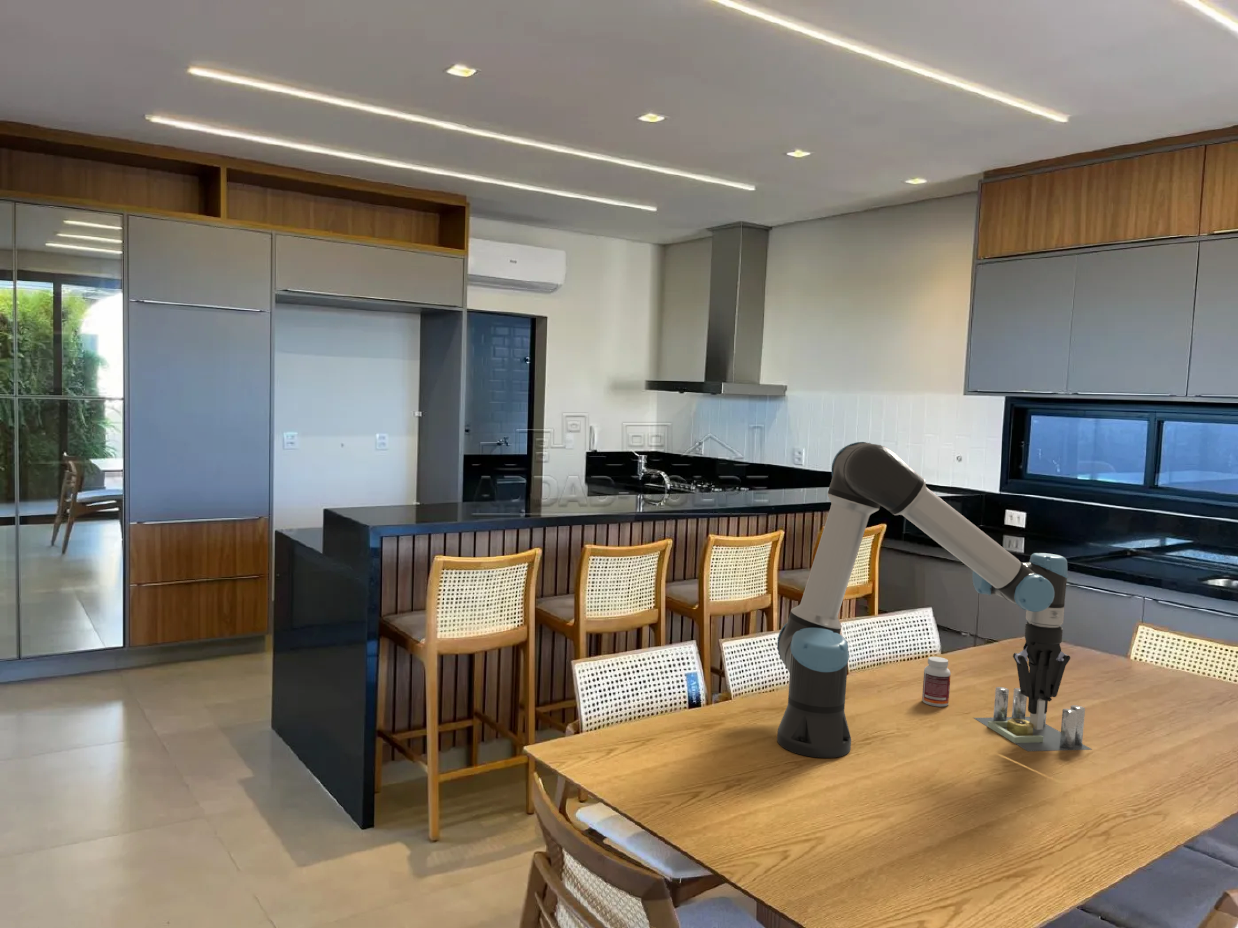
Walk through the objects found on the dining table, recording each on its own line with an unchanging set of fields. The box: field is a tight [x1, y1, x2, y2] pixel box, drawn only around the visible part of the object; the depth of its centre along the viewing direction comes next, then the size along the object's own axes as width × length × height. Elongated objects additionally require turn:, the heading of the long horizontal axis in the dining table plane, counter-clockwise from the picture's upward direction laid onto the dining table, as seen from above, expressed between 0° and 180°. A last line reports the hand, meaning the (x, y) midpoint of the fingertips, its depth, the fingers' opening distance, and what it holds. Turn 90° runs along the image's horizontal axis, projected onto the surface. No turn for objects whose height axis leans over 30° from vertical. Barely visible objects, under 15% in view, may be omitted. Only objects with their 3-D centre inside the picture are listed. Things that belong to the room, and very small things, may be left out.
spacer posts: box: [992, 686, 1086, 751], centre depth 198 cm, size 12×18×8 cm
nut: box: [1007, 718, 1033, 736], centre depth 198 cm, size 5×5×3 cm
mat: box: [973, 716, 1093, 752], centre depth 199 cm, size 16×20×1 cm
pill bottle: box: [921, 656, 952, 708], centre depth 218 cm, size 6×6×11 cm
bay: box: [986, 721, 1043, 744], centre depth 197 cm, size 7×10×1 cm
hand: (1036, 727), depth 198 cm, fingers closed
